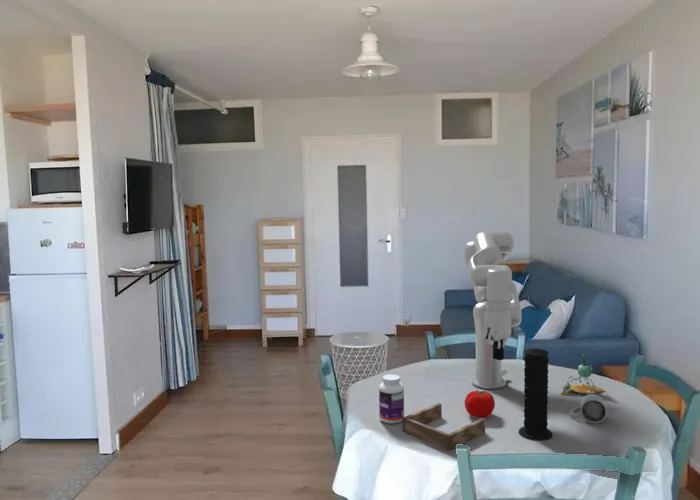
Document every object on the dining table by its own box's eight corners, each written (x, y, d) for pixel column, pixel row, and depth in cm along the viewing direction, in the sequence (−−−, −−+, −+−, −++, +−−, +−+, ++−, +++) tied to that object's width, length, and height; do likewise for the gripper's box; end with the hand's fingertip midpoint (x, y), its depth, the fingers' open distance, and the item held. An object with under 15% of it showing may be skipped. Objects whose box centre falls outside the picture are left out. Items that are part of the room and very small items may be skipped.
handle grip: (544, 425, 181) (513, 427, 180) (545, 343, 178) (513, 344, 177) (558, 439, 171) (525, 441, 170) (560, 352, 168) (526, 354, 167)
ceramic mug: (604, 414, 188) (604, 392, 187) (606, 424, 180) (606, 401, 179) (569, 412, 191) (569, 389, 190) (570, 421, 183) (570, 398, 183)
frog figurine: (551, 388, 214) (556, 349, 212) (598, 391, 214) (603, 352, 213) (562, 397, 204) (567, 356, 203) (611, 400, 205) (616, 359, 204)
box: (438, 416, 190) (438, 403, 189) (485, 433, 176) (485, 419, 176) (402, 431, 179) (402, 417, 178) (449, 451, 165) (449, 436, 164)
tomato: (459, 416, 189) (459, 391, 189) (477, 407, 196) (477, 383, 195) (483, 424, 183) (483, 398, 182) (501, 415, 190) (501, 390, 189)
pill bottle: (375, 417, 190) (374, 375, 189) (397, 413, 193) (396, 371, 192) (386, 426, 183) (385, 382, 181) (408, 422, 186) (407, 379, 184)
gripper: (501, 300, 200) (501, 352, 202) (475, 307, 190) (475, 361, 192) (520, 303, 194) (520, 356, 196) (494, 310, 184) (494, 366, 186)
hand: (498, 358), depth 194 cm, fingers closed
